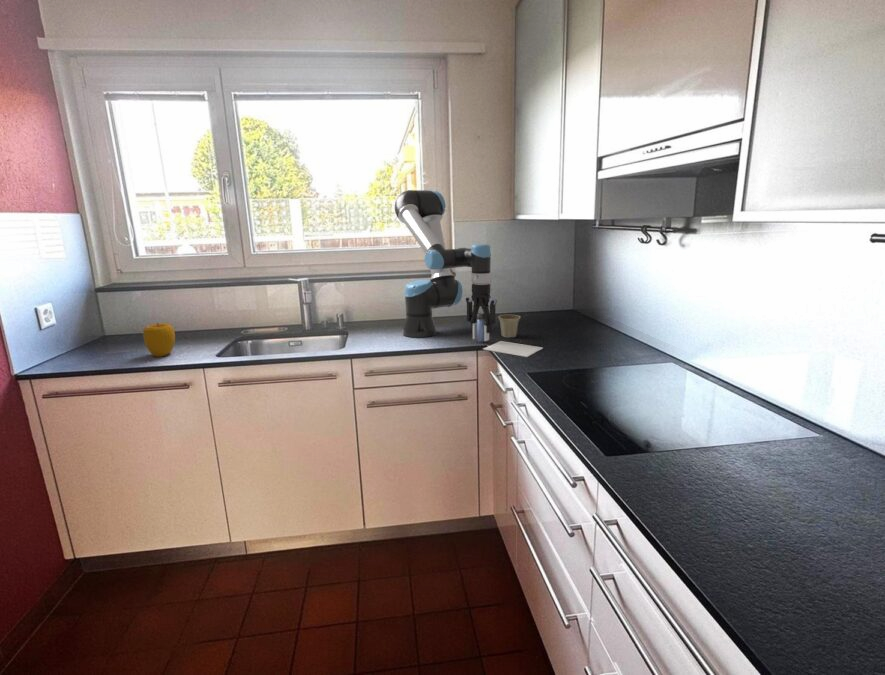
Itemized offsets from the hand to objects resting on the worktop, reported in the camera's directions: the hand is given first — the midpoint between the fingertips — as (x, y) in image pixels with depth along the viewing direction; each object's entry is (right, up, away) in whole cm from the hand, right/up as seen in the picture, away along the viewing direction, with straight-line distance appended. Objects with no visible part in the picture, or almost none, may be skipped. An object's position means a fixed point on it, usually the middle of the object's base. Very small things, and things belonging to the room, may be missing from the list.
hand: (480, 339), depth 198 cm
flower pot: (+13, +1, +9) cm, 16 cm away
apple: (-126, -6, -9) cm, 127 cm away
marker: (0, -1, 0) cm, 1 cm away
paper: (+12, -4, -10) cm, 16 cm away
